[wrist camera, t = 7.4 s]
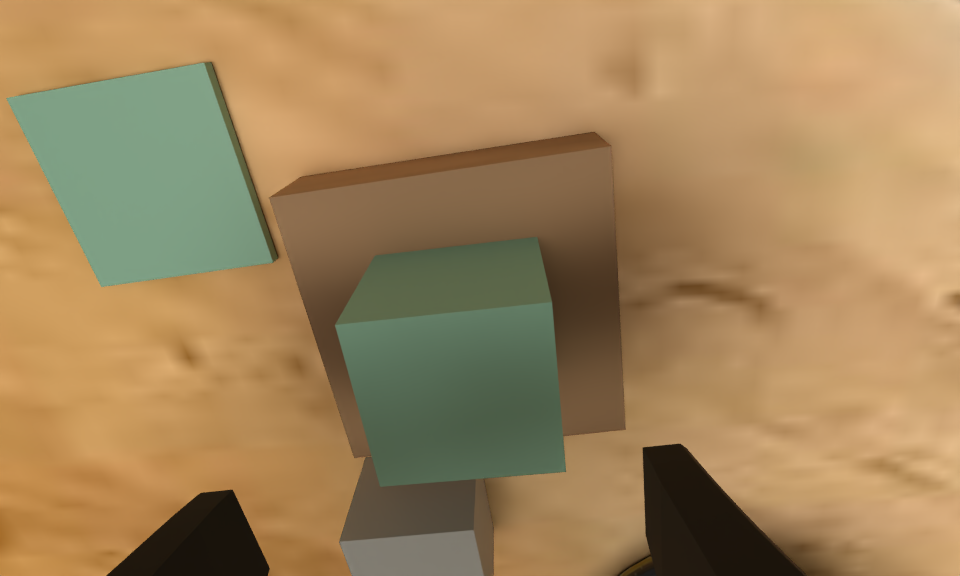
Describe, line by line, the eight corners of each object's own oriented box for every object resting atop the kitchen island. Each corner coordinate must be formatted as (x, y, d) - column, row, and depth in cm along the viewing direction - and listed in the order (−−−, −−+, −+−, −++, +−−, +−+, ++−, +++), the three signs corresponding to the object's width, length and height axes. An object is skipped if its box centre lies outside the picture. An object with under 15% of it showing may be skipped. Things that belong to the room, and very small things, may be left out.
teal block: (549, 375, 16) (565, 472, 12) (405, 389, 16) (379, 486, 13) (537, 236, 14) (552, 301, 11) (374, 255, 15) (335, 324, 11)
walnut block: (607, 376, 20) (625, 429, 17) (373, 403, 20) (354, 458, 18) (591, 129, 16) (611, 146, 13) (306, 173, 17) (269, 197, 14)
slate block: (493, 525, 22) (493, 618, 19) (391, 534, 23) (371, 627, 19) (477, 444, 21) (473, 529, 17) (366, 455, 21) (339, 541, 17)
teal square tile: (277, 258, 17) (273, 262, 17) (109, 282, 18) (101, 286, 17) (211, 62, 15) (204, 62, 14) (17, 96, 15) (6, 97, 15)
